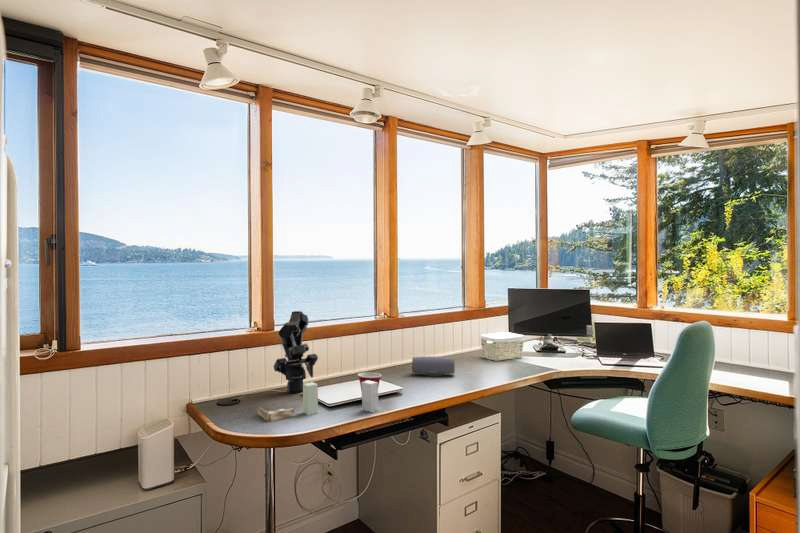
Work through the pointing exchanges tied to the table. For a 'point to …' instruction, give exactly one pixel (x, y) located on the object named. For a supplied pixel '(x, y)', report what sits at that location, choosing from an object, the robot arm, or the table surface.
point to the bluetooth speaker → (433, 365)
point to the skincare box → (370, 396)
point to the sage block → (310, 398)
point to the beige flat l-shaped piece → (275, 414)
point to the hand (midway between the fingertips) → (302, 378)
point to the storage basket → (502, 346)
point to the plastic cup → (369, 377)
